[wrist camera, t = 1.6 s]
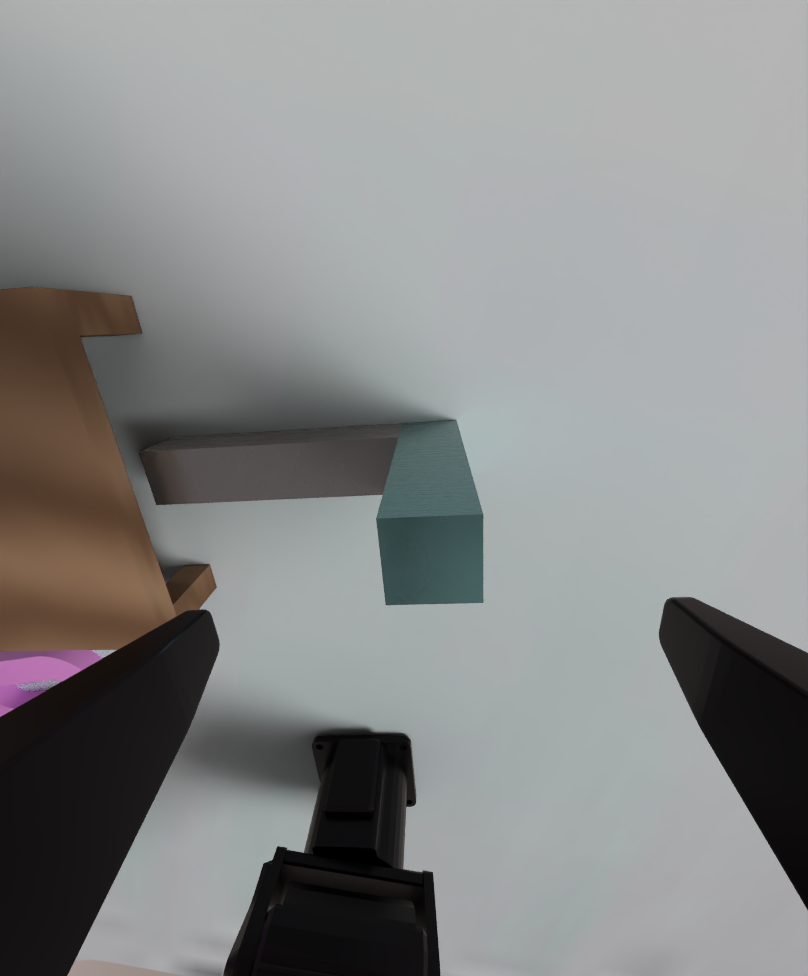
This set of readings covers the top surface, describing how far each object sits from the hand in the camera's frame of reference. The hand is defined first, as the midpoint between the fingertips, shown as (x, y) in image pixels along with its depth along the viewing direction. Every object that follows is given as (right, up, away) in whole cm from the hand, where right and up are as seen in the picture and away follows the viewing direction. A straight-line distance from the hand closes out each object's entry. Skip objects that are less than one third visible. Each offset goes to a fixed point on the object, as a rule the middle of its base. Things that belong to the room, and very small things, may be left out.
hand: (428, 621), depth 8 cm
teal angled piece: (-5, +4, +12) cm, 13 cm away
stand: (-17, +4, +13) cm, 21 cm away
